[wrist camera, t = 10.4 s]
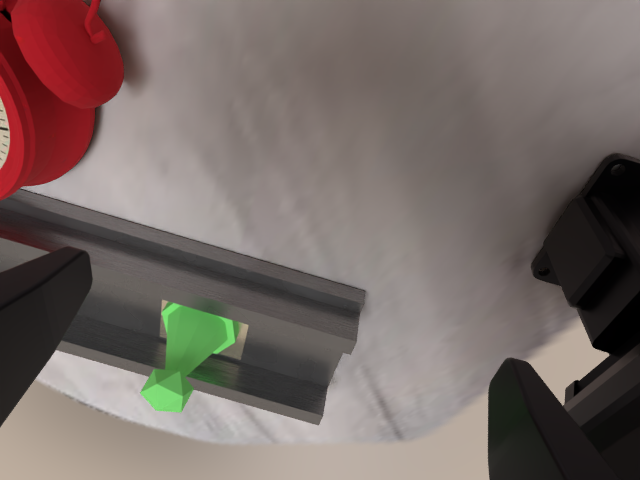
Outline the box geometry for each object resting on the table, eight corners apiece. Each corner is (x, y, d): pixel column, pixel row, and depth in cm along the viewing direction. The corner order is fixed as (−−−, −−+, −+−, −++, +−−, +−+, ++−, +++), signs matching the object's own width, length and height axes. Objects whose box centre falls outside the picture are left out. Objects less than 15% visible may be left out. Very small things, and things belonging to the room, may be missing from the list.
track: (365, 291, 25) (360, 332, 22) (323, 389, 30) (315, 431, 28) (-78, 160, 24) (-132, 188, 22) (-41, 284, 29) (-81, 317, 27)
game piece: (250, 308, 25) (213, 403, 20) (228, 353, 28) (190, 447, 23) (175, 277, 25) (119, 366, 20) (159, 326, 27) (106, 416, 22)
